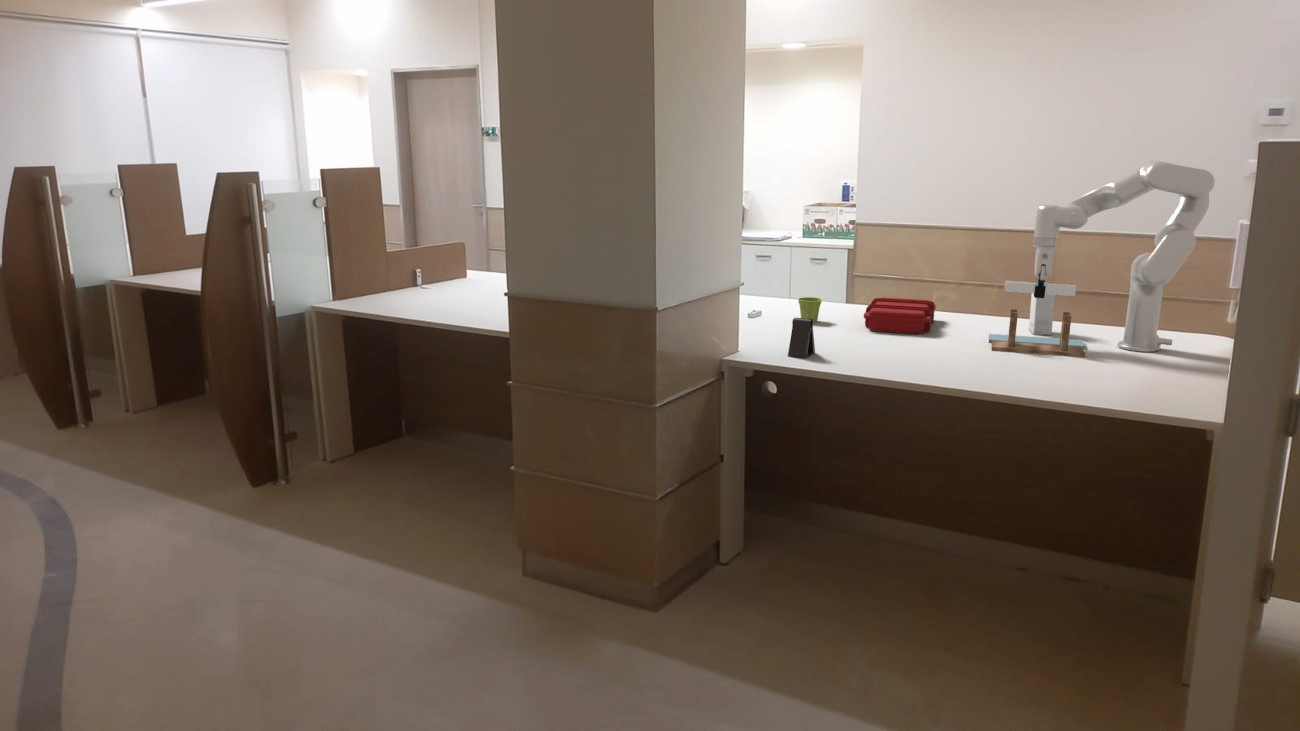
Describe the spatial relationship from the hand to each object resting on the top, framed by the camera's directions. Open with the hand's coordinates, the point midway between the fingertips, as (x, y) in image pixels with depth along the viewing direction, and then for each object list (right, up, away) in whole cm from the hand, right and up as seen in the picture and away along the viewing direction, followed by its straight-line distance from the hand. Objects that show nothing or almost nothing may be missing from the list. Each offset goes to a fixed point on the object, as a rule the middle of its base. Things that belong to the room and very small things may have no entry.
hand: (1038, 296), depth 304 cm
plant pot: (-71, -7, +41) cm, 82 cm away
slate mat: (0, -16, +4) cm, 16 cm away
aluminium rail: (0, +1, 0) cm, 1 cm away
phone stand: (-82, -20, -11) cm, 86 cm away
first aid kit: (-38, -9, +33) cm, 51 cm away
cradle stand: (-4, -18, -7) cm, 20 cm away
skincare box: (+9, -12, +20) cm, 25 cm away
